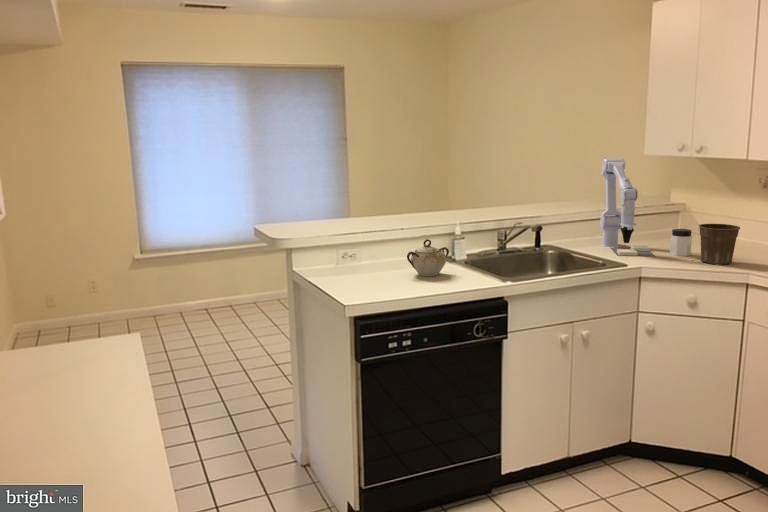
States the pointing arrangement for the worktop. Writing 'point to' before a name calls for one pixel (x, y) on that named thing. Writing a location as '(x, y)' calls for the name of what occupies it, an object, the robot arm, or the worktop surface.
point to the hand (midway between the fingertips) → (626, 242)
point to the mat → (640, 253)
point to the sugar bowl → (428, 259)
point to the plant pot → (718, 243)
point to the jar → (681, 242)
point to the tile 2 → (640, 248)
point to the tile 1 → (627, 252)
